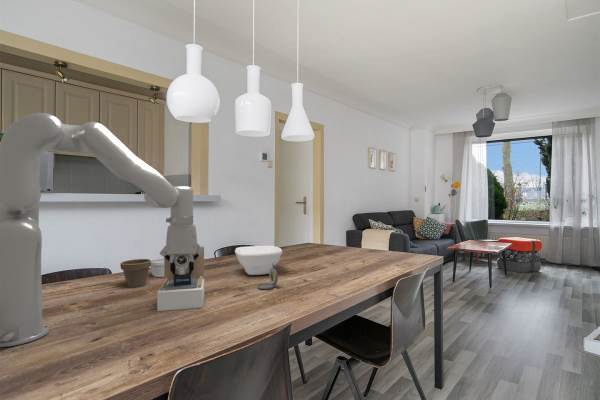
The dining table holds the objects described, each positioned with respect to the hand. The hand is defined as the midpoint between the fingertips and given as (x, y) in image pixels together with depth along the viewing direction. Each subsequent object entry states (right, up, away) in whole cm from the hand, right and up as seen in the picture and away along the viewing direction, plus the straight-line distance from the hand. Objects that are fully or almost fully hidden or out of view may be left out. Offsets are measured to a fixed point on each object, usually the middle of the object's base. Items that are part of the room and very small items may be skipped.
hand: (182, 272), depth 116 cm
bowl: (+22, -10, +42) cm, 48 cm away
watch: (0, -4, -1) cm, 4 cm away
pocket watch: (+29, -10, +18) cm, 35 cm away
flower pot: (-27, -10, +21) cm, 36 cm away
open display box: (0, -10, 0) cm, 10 cm away
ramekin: (-22, -10, +40) cm, 47 cm away
